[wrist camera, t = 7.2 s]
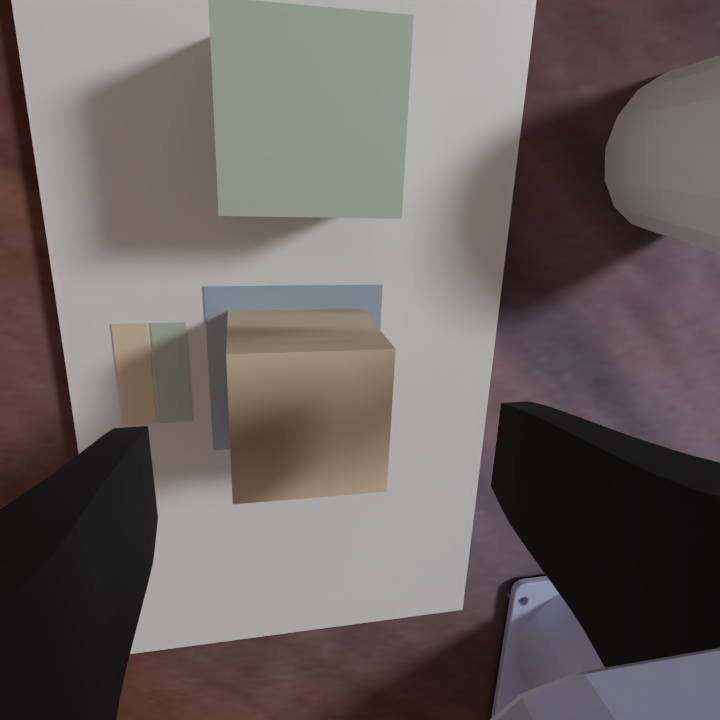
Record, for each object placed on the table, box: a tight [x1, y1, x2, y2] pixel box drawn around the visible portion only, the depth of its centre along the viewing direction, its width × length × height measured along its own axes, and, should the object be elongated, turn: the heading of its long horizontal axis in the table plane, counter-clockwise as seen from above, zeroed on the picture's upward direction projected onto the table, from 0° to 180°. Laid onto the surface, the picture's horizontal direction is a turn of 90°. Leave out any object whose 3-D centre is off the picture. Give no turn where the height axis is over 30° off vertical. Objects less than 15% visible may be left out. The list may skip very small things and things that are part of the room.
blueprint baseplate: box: [11, 0, 536, 654], centre depth 20 cm, size 24×15×1 cm, turn 178°
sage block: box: [208, 0, 414, 219], centre depth 15 cm, size 5×5×4 cm
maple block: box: [226, 309, 396, 504], centre depth 18 cm, size 5×5×4 cm
